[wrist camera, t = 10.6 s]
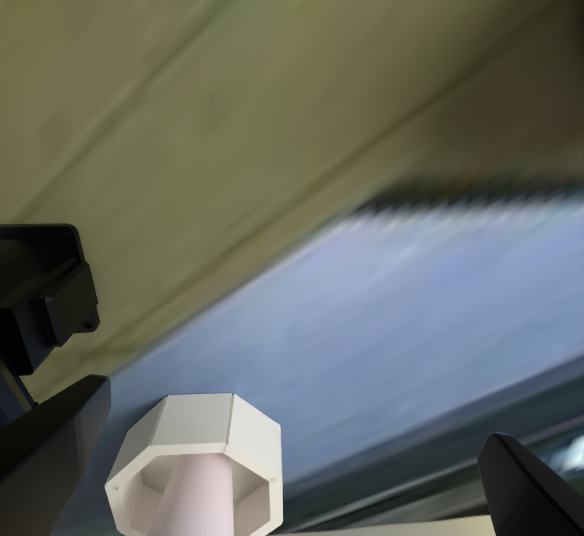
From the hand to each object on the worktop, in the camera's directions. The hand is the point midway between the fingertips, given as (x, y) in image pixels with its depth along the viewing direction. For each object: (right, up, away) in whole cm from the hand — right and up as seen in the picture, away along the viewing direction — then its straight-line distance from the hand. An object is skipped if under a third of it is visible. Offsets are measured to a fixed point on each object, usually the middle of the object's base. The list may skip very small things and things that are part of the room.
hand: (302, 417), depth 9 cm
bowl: (-6, -10, +19) cm, 22 cm away
